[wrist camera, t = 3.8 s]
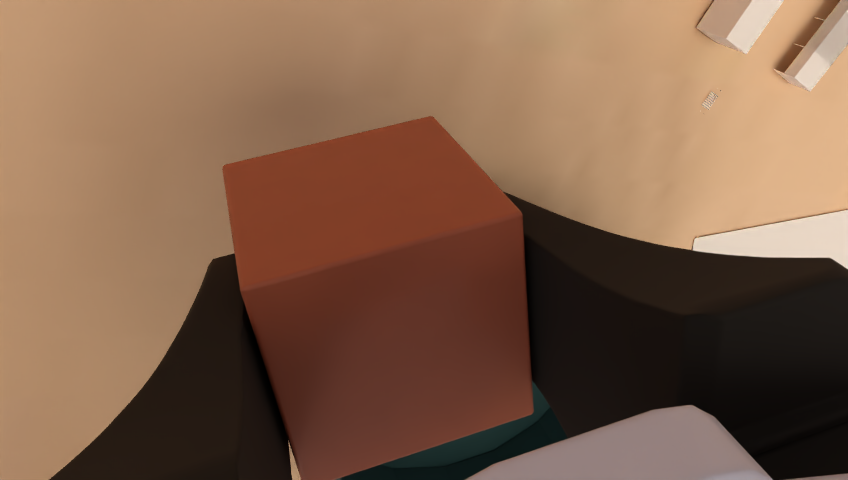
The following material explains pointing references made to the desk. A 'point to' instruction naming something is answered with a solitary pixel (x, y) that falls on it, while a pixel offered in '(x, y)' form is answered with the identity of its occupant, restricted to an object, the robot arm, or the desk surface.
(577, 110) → the desk surface
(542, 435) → the pot
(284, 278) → the block
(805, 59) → the modular blocks
